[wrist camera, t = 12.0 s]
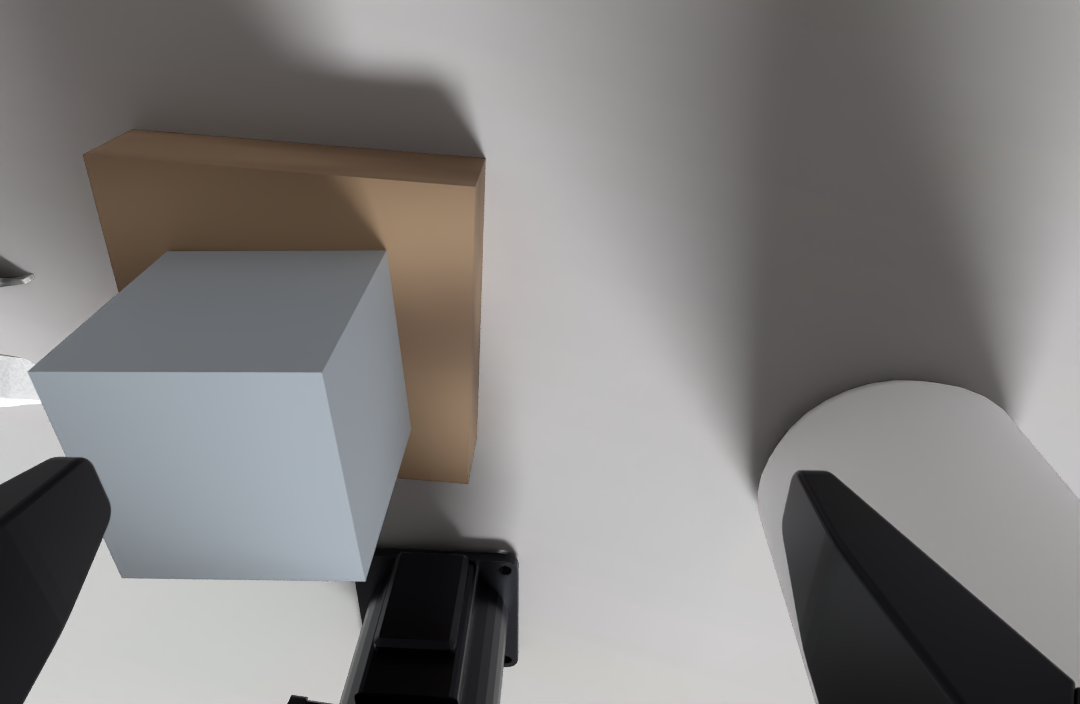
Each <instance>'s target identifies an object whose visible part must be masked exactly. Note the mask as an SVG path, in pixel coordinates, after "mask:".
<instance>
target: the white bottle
mask: <svg viewBox="0 0 1080 704" xmlns="http://www.w3.org/2000/svg"><path fill="white" fill-rule="evenodd" d="M799 470H824V471H828V472H830V473H832V474H833V475H835V476H836V477H837V478H838V479H839V480H841V481H842V482H843V483H844V484H845V485H846V486H848V487H849V488H850V489H851V490H852V491H853V492H855V493H856V494H857V495H858V496H859V497H860V498H862V499H863V500H864V501H865V502H866V503H867V504H869V505H870V506H871V507H872V508H873V509H874V510H876V511H877V512H878V513H879V514H880V515H881V516H883V517H884V518H885V519H886V520H887V521H888V522H890V523H891V524H892V525H893V526H894V527H895V528H897V529H898V530H899V531H900V532H901V533H902V534H904V535H905V536H906V537H907V538H908V539H909V540H911V541H912V542H913V543H914V544H915V545H916V546H918V547H919V548H920V549H921V550H922V551H923V552H925V553H926V554H927V555H928V556H929V557H930V558H932V559H933V560H934V561H935V562H936V563H937V564H939V565H940V566H941V567H942V568H943V569H944V570H946V571H947V572H948V573H949V574H950V575H951V576H953V577H954V578H955V579H956V580H957V581H958V582H960V583H961V584H962V585H963V586H964V587H965V588H967V589H968V590H969V591H970V592H971V593H972V594H974V595H975V596H976V597H977V598H978V599H979V600H981V601H982V602H983V603H984V604H985V605H986V606H988V607H989V608H990V609H991V610H992V611H993V612H995V613H996V614H997V615H998V616H999V617H1000V618H1002V619H1003V620H1004V621H1005V622H1006V623H1007V624H1009V625H1010V626H1011V627H1012V628H1013V629H1014V630H1016V631H1017V632H1018V633H1019V634H1020V635H1021V636H1023V637H1024V638H1025V639H1026V640H1027V641H1028V642H1030V643H1031V644H1032V645H1033V646H1034V647H1035V648H1037V649H1038V650H1039V651H1040V652H1041V653H1042V654H1044V655H1045V656H1046V657H1047V658H1048V659H1049V660H1051V661H1052V662H1053V663H1054V664H1055V665H1056V666H1058V667H1059V668H1060V669H1061V670H1062V671H1063V672H1065V673H1066V674H1067V675H1068V676H1069V677H1070V678H1072V679H1073V680H1074V682H1075V688H1077V687H1080V500H1079V498H1078V497H1077V496H1076V495H1075V494H1074V492H1073V491H1072V490H1071V489H1070V488H1069V487H1068V485H1067V484H1066V483H1065V482H1064V481H1063V479H1062V478H1061V477H1060V476H1059V475H1058V474H1057V472H1056V471H1055V470H1054V469H1053V468H1052V466H1051V465H1050V464H1049V463H1048V462H1047V460H1046V459H1045V458H1044V457H1043V456H1042V455H1041V453H1040V452H1039V451H1038V450H1037V449H1036V447H1035V446H1034V445H1033V444H1032V443H1031V442H1030V440H1029V439H1028V438H1027V437H1026V436H1025V434H1024V433H1023V432H1022V431H1021V430H1020V429H1019V427H1018V426H1017V425H1016V424H1015V423H1014V421H1013V420H1012V419H1011V418H1010V417H1009V416H1008V414H1007V413H1006V412H1005V411H1004V410H1003V409H1002V408H1000V407H999V406H998V405H996V404H995V403H993V402H992V401H990V400H989V399H988V398H986V397H984V396H982V395H979V394H977V393H974V392H972V391H969V390H967V389H964V388H961V387H956V386H951V385H945V384H940V383H934V382H926V381H912V380H893V381H885V382H878V383H871V384H867V385H864V386H860V387H857V388H854V389H850V390H847V391H845V392H843V393H840V394H838V395H836V396H834V397H832V398H829V399H827V400H825V401H824V402H822V403H821V404H819V405H818V406H816V407H814V408H813V409H811V410H810V411H808V412H807V413H806V414H804V415H803V416H802V417H801V418H800V419H799V420H798V421H797V422H796V423H795V424H794V425H793V426H791V427H790V429H789V430H788V431H787V433H786V434H785V435H784V437H783V438H782V439H781V441H780V442H779V443H778V445H777V446H776V448H775V450H774V451H773V453H772V454H771V456H770V458H769V460H768V462H767V464H766V466H765V469H764V471H763V473H762V475H761V479H760V484H759V489H758V494H757V496H758V511H759V516H760V519H761V522H762V526H763V529H764V532H765V536H766V539H767V542H768V546H769V549H770V552H771V556H772V559H773V562H774V566H775V569H776V572H777V576H778V579H779V582H780V586H781V589H782V592H783V596H784V599H785V602H786V606H787V609H788V612H789V616H790V619H791V622H792V626H793V629H794V632H795V636H796V639H797V642H798V646H799V649H800V652H801V656H802V659H803V662H804V666H805V669H806V672H807V676H808V679H809V682H810V686H811V689H812V692H813V696H814V699H815V702H816V704H819V703H818V700H817V696H816V693H815V690H814V686H813V683H812V680H811V676H810V673H809V670H808V666H807V662H806V658H805V655H804V651H803V647H802V641H801V636H800V631H799V626H798V620H797V615H796V609H795V603H794V598H793V592H792V587H791V581H790V575H789V570H788V564H787V558H786V553H785V547H784V541H783V535H782V518H783V513H784V509H785V504H786V500H787V495H788V491H789V487H790V482H791V478H792V476H793V475H794V473H795V472H797V471H799Z"/></svg>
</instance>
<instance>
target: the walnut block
mask: <svg viewBox="0 0 1080 704" xmlns="http://www.w3.org/2000/svg"><path fill="white" fill-rule="evenodd" d="M83 157H84V161H85V165H86V169H87V173H88V176H89V180H90V184H91V188H92V192H93V196H94V199H95V203H96V207H97V211H98V215H99V219H100V222H101V226H102V230H103V234H104V238H105V242H106V245H107V249H108V253H109V257H110V261H111V265H112V268H113V272H114V276H115V280H116V284H117V288H118V291H119V292H120V291H122V290H123V289H124V288H125V287H126V286H127V285H129V284H130V283H131V282H132V281H133V280H134V279H136V278H137V277H138V276H139V275H140V274H141V273H142V272H144V271H145V270H146V269H147V268H148V267H149V266H151V265H152V264H153V263H154V262H155V261H156V260H158V259H159V258H160V257H161V256H162V255H163V254H165V253H166V252H167V251H354V250H387V257H388V264H389V272H390V279H391V286H392V293H393V301H394V308H395V315H396V322H397V329H398V337H399V344H400V351H401V358H402V365H403V373H404V380H405V387H406V394H407V402H408V409H409V416H410V423H411V432H410V435H409V438H408V442H407V445H406V448H405V452H404V455H403V458H402V462H401V465H400V468H399V472H398V475H397V478H402V479H414V480H426V481H438V482H450V483H463V484H468V482H469V477H470V471H471V466H472V461H473V455H474V450H475V445H476V439H477V418H478V386H479V354H480V322H481V290H482V258H483V226H484V194H485V162H486V158H476V157H463V156H451V155H439V154H427V153H415V152H402V151H390V150H378V149H366V148H354V147H341V146H329V145H317V144H305V143H293V142H280V141H268V140H256V139H244V138H232V137H219V136H207V135H195V134H183V133H171V132H158V131H146V130H134V129H132V130H130V131H128V132H126V133H125V134H123V135H121V136H119V137H117V138H115V139H113V140H111V141H109V142H107V143H105V144H103V145H101V146H99V147H97V148H95V149H93V150H91V151H89V152H87V153H85V154H83Z"/></svg>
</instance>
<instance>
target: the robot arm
mask: <svg viewBox="0 0 1080 704" xmlns="http://www.w3.org/2000/svg"><path fill="white" fill-rule="evenodd" d="M110 517H111V504H110V501H109V498H108V496H107V494H106V492H105V489H104V487H103V485H102V483H101V481H100V478H99V476H98V474H97V472H96V469H95V467H94V465H93V464H92V463H91V462H90V461H89V460H88V459H86V458H83V457H54V458H50V459H48V460H46V461H44V462H42V463H40V464H38V465H37V466H35V467H33V468H31V469H29V470H27V471H25V472H23V473H21V474H20V475H18V476H16V477H14V478H12V479H10V480H8V481H6V482H4V483H2V484H1V485H0V704H23V703H24V701H25V699H26V697H27V696H28V694H29V692H30V690H31V688H32V686H33V685H34V683H35V681H36V679H37V677H38V676H39V674H40V672H41V670H42V668H43V666H44V665H45V663H46V661H47V659H48V657H49V655H50V654H51V652H52V650H53V648H54V646H55V644H56V642H57V640H58V639H59V637H60V635H61V633H62V631H63V629H64V627H65V624H66V622H67V620H68V618H69V616H70V614H71V611H72V609H73V607H74V604H75V602H76V600H77V597H78V595H79V593H80V590H81V588H82V586H83V583H84V581H85V579H86V576H87V574H88V571H89V569H90V567H91V564H92V562H93V560H94V557H95V555H96V553H97V550H98V548H99V546H100V543H101V541H102V539H103V536H104V534H105V531H106V529H107V527H108V524H109V521H110ZM782 535H783V541H784V547H785V553H786V558H787V564H788V570H789V575H790V581H791V587H792V592H793V598H794V603H795V609H796V615H797V620H798V626H799V631H800V636H801V641H802V647H803V651H804V655H805V658H806V662H807V666H808V670H809V673H810V676H811V680H812V683H813V686H814V690H815V693H816V696H817V700H818V703H819V704H1080V687H1077V688H1075V682H1074V680H1073V679H1072V678H1070V677H1069V676H1068V675H1067V674H1066V673H1065V672H1063V671H1062V670H1061V669H1060V668H1059V667H1058V666H1056V665H1055V664H1054V663H1053V662H1052V661H1051V660H1049V659H1048V658H1047V657H1046V656H1045V655H1044V654H1042V653H1041V652H1040V651H1039V650H1038V649H1037V648H1035V647H1034V646H1033V645H1032V644H1031V643H1030V642H1028V641H1027V640H1026V639H1025V638H1024V637H1023V636H1021V635H1020V634H1019V633H1018V632H1017V631H1016V630H1014V629H1013V628H1012V627H1011V626H1010V625H1009V624H1007V623H1006V622H1005V621H1004V620H1003V619H1002V618H1000V617H999V616H998V615H997V614H996V613H995V612H993V611H992V610H991V609H990V608H989V607H988V606H986V605H985V604H984V603H983V602H982V601H981V600H979V599H978V598H977V597H976V596H975V595H974V594H972V593H971V592H970V591H969V590H968V589H967V588H965V587H964V586H963V585H962V584H961V583H960V582H958V581H957V580H956V579H955V578H954V577H953V576H951V575H950V574H949V573H948V572H947V571H946V570H944V569H943V568H942V567H941V566H940V565H939V564H937V563H936V562H935V561H934V560H933V559H932V558H930V557H929V556H928V555H927V554H926V553H925V552H923V551H922V550H921V549H920V548H919V547H918V546H916V545H915V544H914V543H913V542H912V541H911V540H909V539H908V538H907V537H906V536H905V535H904V534H902V533H901V532H900V531H899V530H898V529H897V528H895V527H894V526H893V525H892V524H891V523H890V522H888V521H887V520H886V519H885V518H884V517H883V516H881V515H880V514H879V513H878V512H877V511H876V510H874V509H873V508H872V507H871V506H870V505H869V504H867V503H866V502H865V501H864V500H863V499H862V498H860V497H859V496H858V495H857V494H856V493H855V492H853V491H852V490H851V489H850V488H849V487H848V486H846V485H845V484H844V483H843V482H842V481H841V480H839V479H838V478H837V477H836V476H835V475H833V474H832V473H830V472H828V471H824V470H799V471H797V472H795V473H794V475H793V476H792V478H791V482H790V487H789V491H788V495H787V500H786V504H785V509H784V513H783V518H782ZM503 566H508V567H503ZM355 583H356V589H357V595H358V601H359V607H360V613H361V619H362V629H361V632H360V636H359V639H358V642H357V646H356V649H355V653H354V656H353V659H352V663H351V666H350V669H349V673H348V676H347V680H346V683H345V686H344V690H343V693H342V696H341V700H340V703H339V704H500V697H501V687H502V676H503V667H511V666H514V665H515V664H516V663H517V661H518V608H519V563H518V560H517V558H516V557H514V556H512V555H510V554H501V553H478V552H456V551H433V550H411V549H388V548H375V551H374V555H373V558H372V561H371V565H370V568H369V571H368V575H367V578H366V581H365V582H362V581H355ZM288 704H331V703H324V702H317V701H310V700H308V697H303V696H296V695H291V697H290V699H289V702H288Z"/></svg>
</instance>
